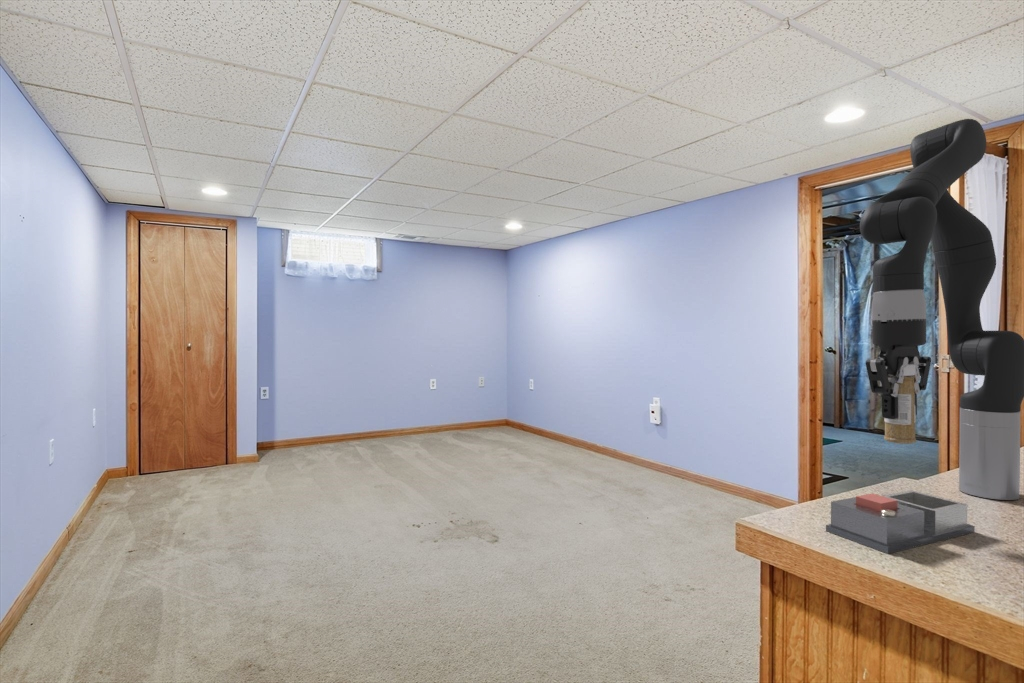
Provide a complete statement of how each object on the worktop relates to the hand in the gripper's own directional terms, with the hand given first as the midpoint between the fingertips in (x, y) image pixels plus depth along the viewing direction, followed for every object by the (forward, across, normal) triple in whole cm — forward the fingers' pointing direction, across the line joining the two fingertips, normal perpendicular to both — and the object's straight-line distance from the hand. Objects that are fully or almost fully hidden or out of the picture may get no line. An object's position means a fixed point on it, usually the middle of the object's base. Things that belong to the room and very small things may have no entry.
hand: (899, 416), depth 92 cm
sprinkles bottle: (+4, 0, 0) cm, 4 cm away
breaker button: (+17, +10, +2) cm, 20 cm away
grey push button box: (+18, +4, +2) cm, 19 cm away
